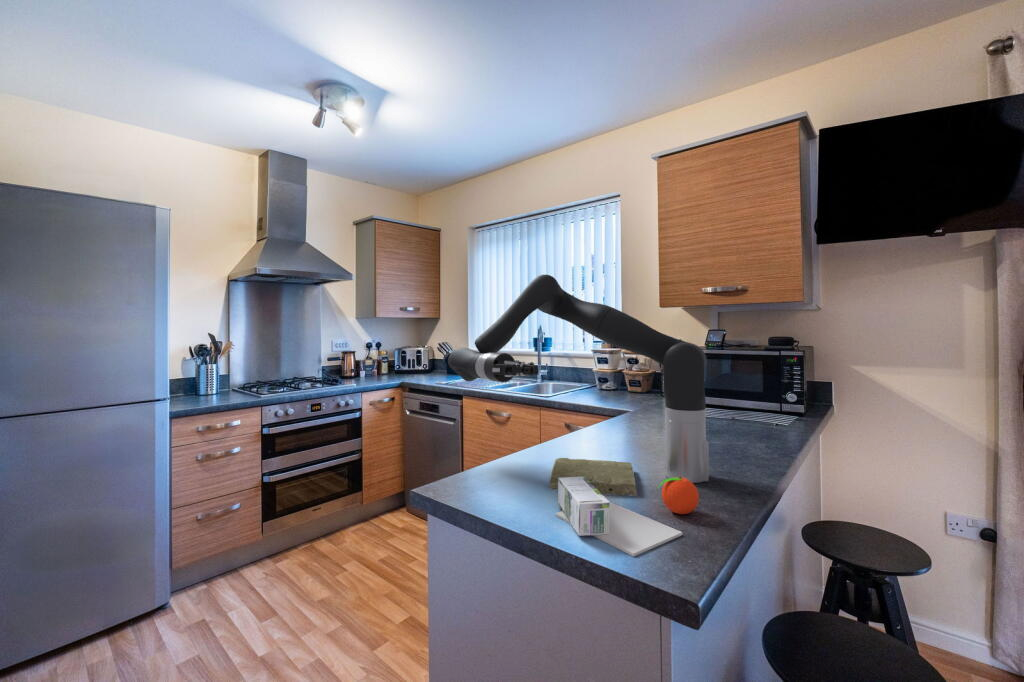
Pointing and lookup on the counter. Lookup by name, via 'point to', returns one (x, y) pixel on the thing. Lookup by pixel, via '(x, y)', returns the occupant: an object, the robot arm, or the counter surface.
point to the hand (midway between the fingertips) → (535, 370)
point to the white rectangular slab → (633, 531)
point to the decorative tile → (597, 474)
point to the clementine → (679, 495)
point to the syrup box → (583, 506)
